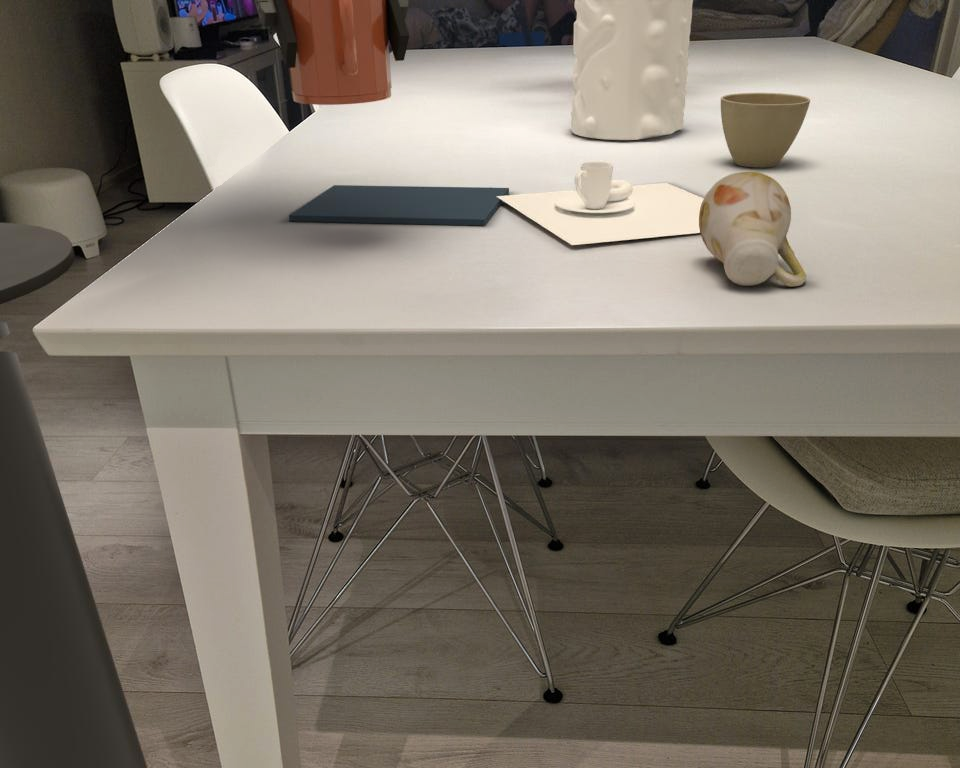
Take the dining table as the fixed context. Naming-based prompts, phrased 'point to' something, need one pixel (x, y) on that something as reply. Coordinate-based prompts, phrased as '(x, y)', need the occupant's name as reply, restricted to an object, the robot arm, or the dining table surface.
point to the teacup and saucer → (610, 208)
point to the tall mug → (340, 51)
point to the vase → (630, 68)
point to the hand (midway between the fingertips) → (347, 51)
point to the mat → (402, 205)
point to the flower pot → (761, 126)
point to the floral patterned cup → (749, 229)
